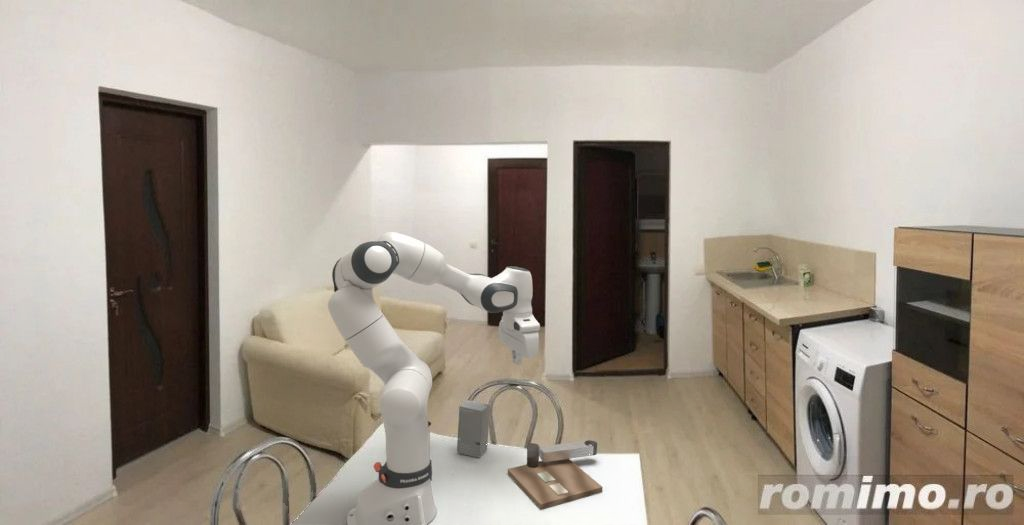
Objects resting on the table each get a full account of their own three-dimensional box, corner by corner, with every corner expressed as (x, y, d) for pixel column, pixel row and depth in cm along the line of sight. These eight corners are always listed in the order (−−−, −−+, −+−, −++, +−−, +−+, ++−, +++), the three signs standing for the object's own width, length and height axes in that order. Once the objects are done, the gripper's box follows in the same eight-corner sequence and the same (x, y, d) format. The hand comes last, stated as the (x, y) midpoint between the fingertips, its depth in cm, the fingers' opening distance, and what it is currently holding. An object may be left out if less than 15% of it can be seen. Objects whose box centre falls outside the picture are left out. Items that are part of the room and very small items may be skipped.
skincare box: (456, 453, 172) (456, 406, 170) (466, 444, 179) (466, 398, 177) (480, 459, 169) (480, 411, 167) (489, 449, 176) (490, 402, 174)
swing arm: (543, 462, 162) (543, 452, 161) (538, 455, 166) (539, 446, 165) (599, 454, 167) (599, 445, 167) (593, 448, 171) (593, 439, 170)
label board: (540, 509, 143) (541, 483, 142) (506, 472, 161) (506, 448, 160) (602, 491, 152) (603, 466, 151) (563, 458, 170) (563, 436, 169)
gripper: (493, 313, 171) (493, 355, 173) (523, 328, 153) (522, 375, 155) (511, 311, 174) (510, 352, 176) (543, 326, 156) (541, 372, 158)
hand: (516, 363), depth 165 cm, fingers closed
